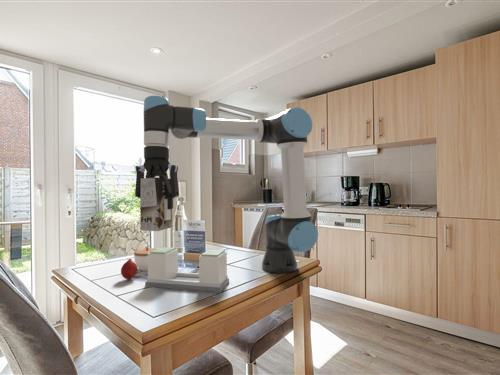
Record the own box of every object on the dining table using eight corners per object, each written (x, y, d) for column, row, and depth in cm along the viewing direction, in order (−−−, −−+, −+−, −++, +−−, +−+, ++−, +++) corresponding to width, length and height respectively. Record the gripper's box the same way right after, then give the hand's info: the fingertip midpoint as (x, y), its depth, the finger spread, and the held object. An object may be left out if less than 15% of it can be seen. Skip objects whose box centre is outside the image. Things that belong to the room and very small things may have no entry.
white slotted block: (229, 282, 103) (229, 249, 103) (220, 292, 93) (220, 255, 93) (160, 277, 109) (160, 246, 109) (145, 286, 99) (145, 252, 99)
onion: (127, 283, 102) (127, 261, 102) (117, 280, 105) (117, 259, 105) (140, 279, 107) (140, 258, 107) (131, 276, 110) (131, 256, 110)
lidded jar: (137, 273, 114) (137, 250, 114) (131, 267, 122) (131, 246, 122) (163, 269, 120) (163, 247, 120) (155, 263, 129) (155, 243, 129)
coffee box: (159, 231, 83) (158, 177, 83) (139, 231, 84) (139, 177, 84) (173, 227, 92) (172, 178, 92) (155, 226, 93) (154, 178, 93)
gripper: (190, 147, 90) (190, 218, 90) (136, 149, 94) (136, 218, 94) (179, 143, 83) (180, 221, 83) (121, 146, 87) (122, 220, 86)
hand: (157, 219), depth 88 cm, fingers closed on coffee box, 6 cm apart
